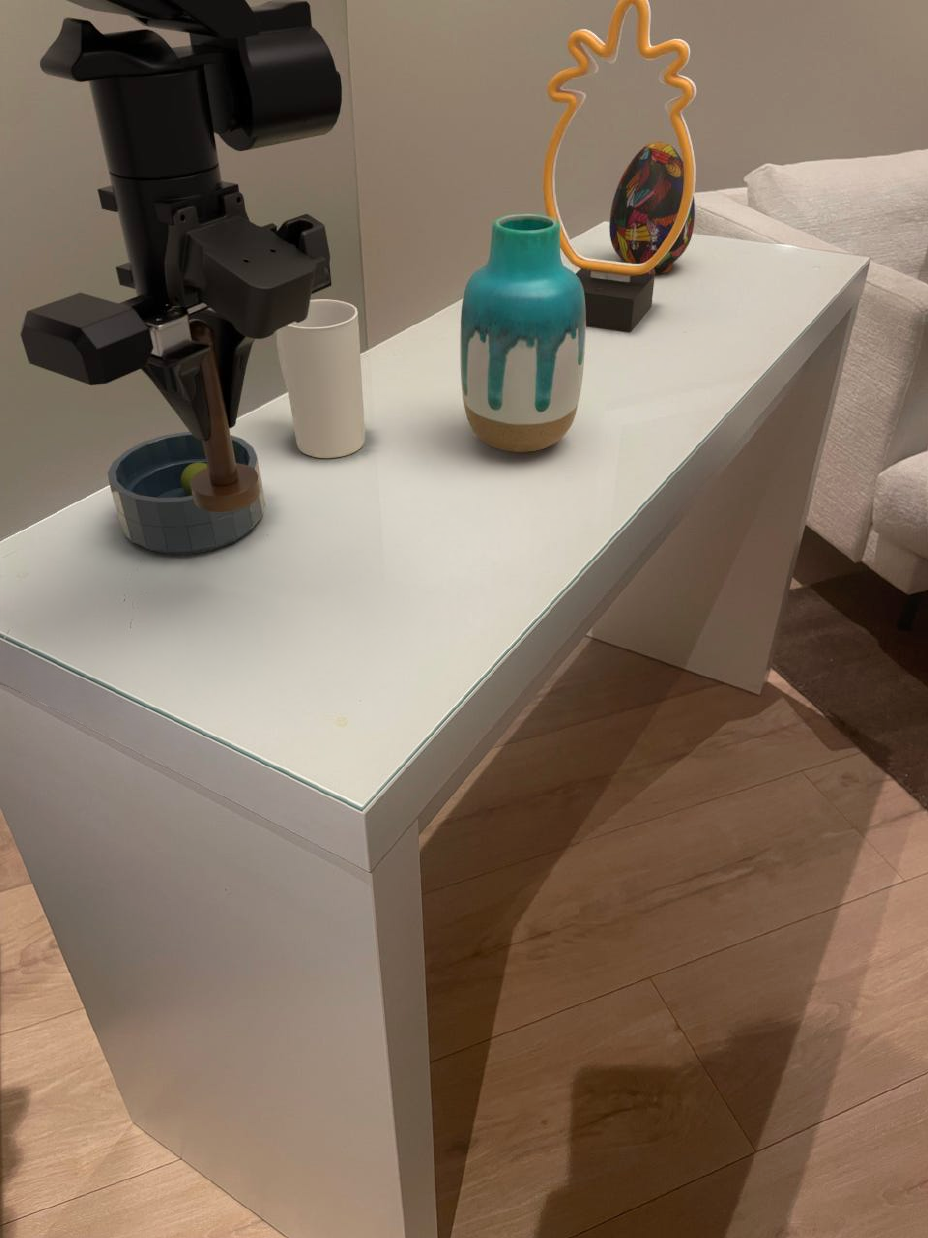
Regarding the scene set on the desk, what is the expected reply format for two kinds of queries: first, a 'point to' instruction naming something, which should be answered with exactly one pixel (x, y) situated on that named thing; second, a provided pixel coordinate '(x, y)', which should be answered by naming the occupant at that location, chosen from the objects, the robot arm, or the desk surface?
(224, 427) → the stirring stick
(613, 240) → the egg
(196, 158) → the robot arm
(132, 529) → the bowl
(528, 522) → the desk surface
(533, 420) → the vase
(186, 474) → the olive ball
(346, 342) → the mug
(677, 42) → the lamp
